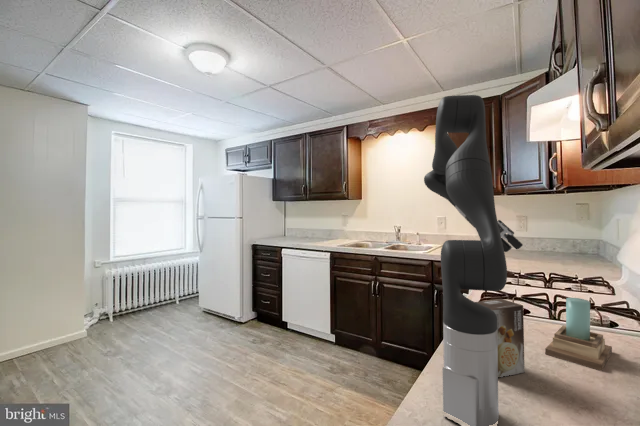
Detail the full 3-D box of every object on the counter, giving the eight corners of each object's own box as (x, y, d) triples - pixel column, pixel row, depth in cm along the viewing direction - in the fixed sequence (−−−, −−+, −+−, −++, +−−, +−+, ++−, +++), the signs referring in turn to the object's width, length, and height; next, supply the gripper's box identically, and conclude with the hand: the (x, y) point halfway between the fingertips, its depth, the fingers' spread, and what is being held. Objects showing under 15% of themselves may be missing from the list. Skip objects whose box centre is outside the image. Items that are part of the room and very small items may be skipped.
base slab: (601, 371, 72) (601, 349, 72) (545, 354, 80) (545, 335, 80) (611, 352, 81) (611, 333, 80) (560, 338, 89) (560, 321, 89)
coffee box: (502, 360, 78) (501, 297, 77) (525, 373, 72) (524, 305, 71) (472, 365, 75) (471, 301, 75) (493, 380, 69) (493, 309, 69)
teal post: (588, 343, 77) (588, 304, 77) (564, 337, 81) (564, 300, 80) (591, 338, 80) (591, 300, 80) (568, 332, 84) (568, 296, 83)
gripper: (472, 201, 91) (515, 242, 82) (492, 201, 100) (533, 238, 91) (455, 219, 95) (495, 259, 87) (475, 217, 104) (514, 254, 95)
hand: (514, 248), depth 89 cm, fingers open, 8 cm apart
